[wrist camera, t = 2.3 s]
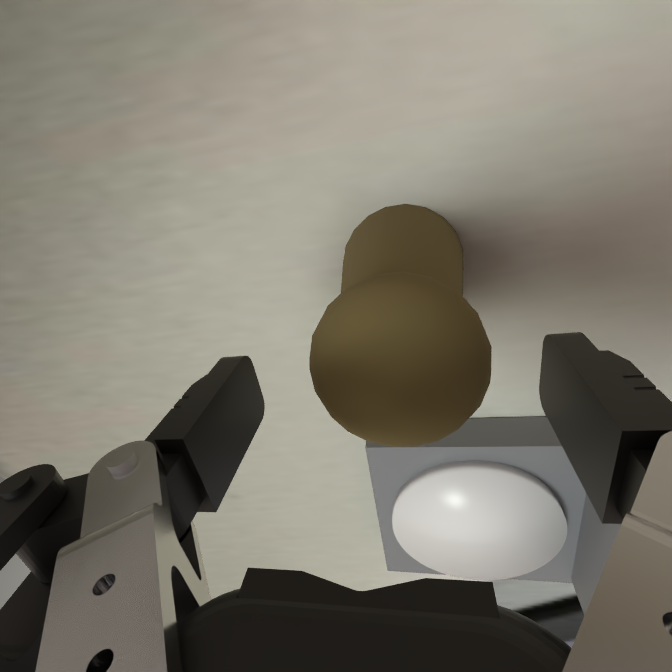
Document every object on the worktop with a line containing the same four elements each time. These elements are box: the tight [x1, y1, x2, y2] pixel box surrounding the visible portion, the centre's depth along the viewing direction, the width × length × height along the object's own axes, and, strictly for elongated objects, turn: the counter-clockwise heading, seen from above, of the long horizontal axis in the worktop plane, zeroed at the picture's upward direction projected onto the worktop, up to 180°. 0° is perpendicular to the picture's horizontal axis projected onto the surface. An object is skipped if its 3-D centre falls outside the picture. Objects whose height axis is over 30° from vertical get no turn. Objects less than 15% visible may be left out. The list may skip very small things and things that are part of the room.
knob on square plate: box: [365, 417, 621, 615], centre depth 22 cm, size 16×12×7 cm
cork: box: [310, 204, 491, 447], centre depth 14 cm, size 6×6×11 cm
